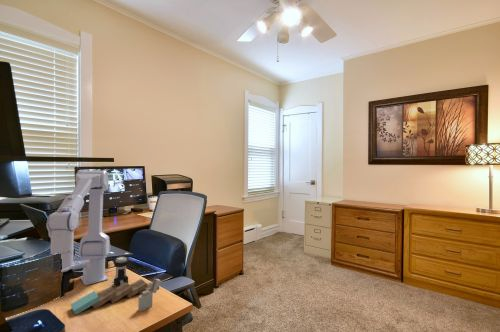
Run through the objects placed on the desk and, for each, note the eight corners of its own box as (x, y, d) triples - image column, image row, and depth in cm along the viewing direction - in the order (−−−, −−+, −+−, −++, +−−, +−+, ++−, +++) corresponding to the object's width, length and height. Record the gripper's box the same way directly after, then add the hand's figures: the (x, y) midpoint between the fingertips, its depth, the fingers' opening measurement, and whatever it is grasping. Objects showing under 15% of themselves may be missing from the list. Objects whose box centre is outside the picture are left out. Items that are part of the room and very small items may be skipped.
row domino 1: (88, 299, 88) (110, 286, 93) (90, 303, 88) (112, 290, 93) (92, 305, 84) (115, 291, 89) (94, 309, 85) (116, 295, 89)
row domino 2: (106, 294, 91) (126, 282, 96) (107, 298, 92) (127, 285, 97) (111, 299, 88) (131, 286, 93) (112, 303, 88) (132, 290, 93)
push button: (111, 289, 98) (111, 262, 98) (107, 284, 102) (107, 258, 102) (130, 284, 102) (130, 258, 102) (125, 280, 106) (126, 255, 106)
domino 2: (135, 287, 98) (153, 281, 103) (135, 291, 98) (153, 285, 103) (140, 292, 94) (159, 286, 99) (140, 296, 94) (159, 290, 99)
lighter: (141, 311, 84) (141, 286, 84) (138, 309, 85) (138, 284, 85) (160, 302, 90) (160, 278, 90) (157, 300, 91) (157, 277, 91)
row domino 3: (122, 289, 95) (140, 278, 100) (123, 293, 95) (141, 282, 100) (127, 294, 92) (146, 283, 97) (128, 298, 92) (147, 287, 97)
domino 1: (70, 304, 84) (94, 290, 89) (72, 308, 85) (95, 294, 89) (73, 310, 81) (98, 296, 85) (75, 315, 81) (99, 300, 86)
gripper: (32, 260, 73) (31, 309, 73) (92, 249, 83) (91, 293, 83) (30, 253, 78) (29, 299, 78) (87, 244, 88) (86, 285, 88)
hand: (61, 295), depth 81 cm, fingers closed
